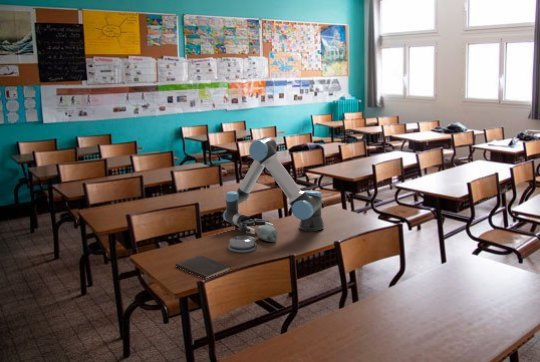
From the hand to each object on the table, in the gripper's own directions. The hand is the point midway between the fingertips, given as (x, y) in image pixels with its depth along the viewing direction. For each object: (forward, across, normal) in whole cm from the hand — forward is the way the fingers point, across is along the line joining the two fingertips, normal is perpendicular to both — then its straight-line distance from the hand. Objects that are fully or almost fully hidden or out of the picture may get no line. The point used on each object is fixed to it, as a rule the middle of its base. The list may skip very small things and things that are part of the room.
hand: (263, 229), depth 296 cm
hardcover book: (+14, +49, -7) cm, 52 cm away
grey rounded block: (+2, 0, -6) cm, 7 cm away
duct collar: (+4, +18, -6) cm, 19 cm away
